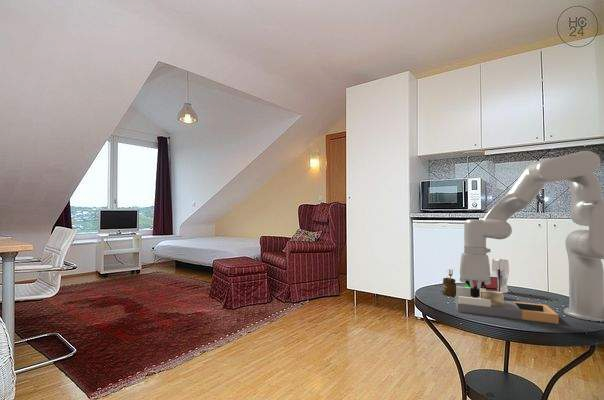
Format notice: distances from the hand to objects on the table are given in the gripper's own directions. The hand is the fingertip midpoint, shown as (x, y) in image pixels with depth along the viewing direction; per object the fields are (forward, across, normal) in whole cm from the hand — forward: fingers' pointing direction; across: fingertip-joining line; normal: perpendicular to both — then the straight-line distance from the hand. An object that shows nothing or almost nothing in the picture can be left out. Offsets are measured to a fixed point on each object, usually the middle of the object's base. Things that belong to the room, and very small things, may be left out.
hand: (474, 298), depth 122 cm
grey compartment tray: (+4, -9, 0) cm, 10 cm away
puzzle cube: (+4, -5, -22) cm, 23 cm away
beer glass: (+4, -15, -36) cm, 39 cm away
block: (+1, -6, 0) cm, 6 cm away
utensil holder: (+4, +8, -20) cm, 22 cm away
